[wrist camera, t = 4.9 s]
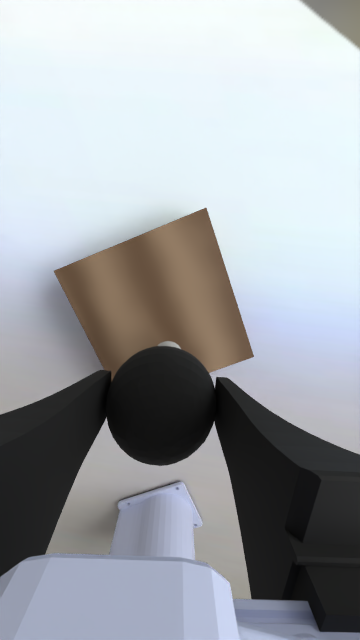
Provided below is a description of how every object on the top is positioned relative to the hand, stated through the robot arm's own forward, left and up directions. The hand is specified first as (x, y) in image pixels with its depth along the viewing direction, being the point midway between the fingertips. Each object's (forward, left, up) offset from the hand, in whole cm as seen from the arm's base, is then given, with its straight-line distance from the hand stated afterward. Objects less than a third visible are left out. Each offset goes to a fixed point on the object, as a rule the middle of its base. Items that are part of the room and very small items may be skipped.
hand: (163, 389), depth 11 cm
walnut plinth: (0, +3, -11) cm, 11 cm away
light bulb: (0, 0, -7) cm, 7 cm away
